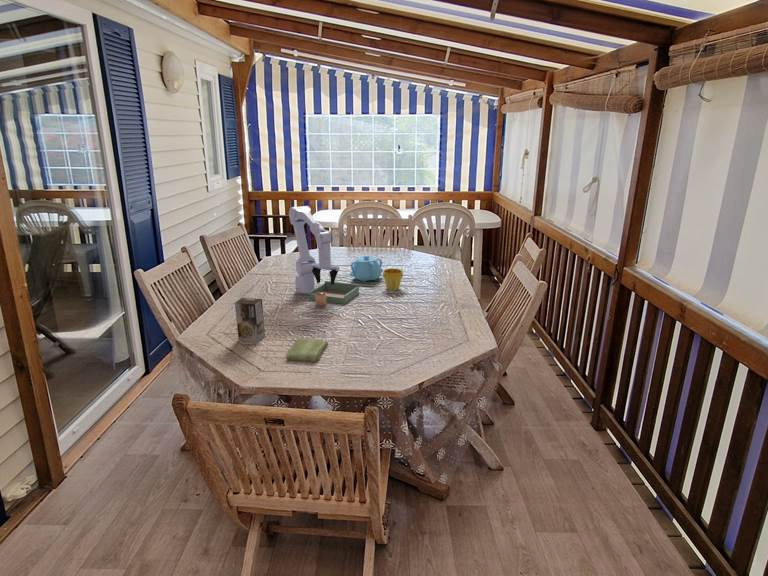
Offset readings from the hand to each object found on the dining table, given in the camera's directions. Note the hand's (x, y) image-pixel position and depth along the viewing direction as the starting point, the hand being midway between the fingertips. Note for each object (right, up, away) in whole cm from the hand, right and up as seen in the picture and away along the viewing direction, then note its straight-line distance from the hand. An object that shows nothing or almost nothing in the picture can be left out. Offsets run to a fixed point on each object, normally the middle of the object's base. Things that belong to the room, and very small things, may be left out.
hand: (325, 283), depth 246 cm
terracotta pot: (-2, -11, -4) cm, 11 cm away
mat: (-2, -11, -4) cm, 12 cm away
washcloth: (-1, -27, -54) cm, 60 cm away
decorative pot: (+19, +3, +39) cm, 44 cm away
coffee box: (-25, -23, -41) cm, 53 cm away
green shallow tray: (+4, -7, +9) cm, 12 cm away
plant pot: (+33, -3, +22) cm, 40 cm away
